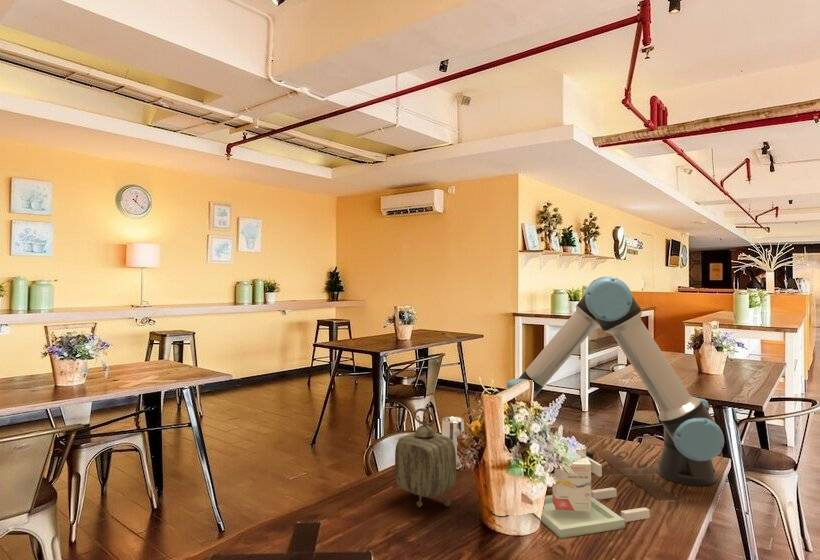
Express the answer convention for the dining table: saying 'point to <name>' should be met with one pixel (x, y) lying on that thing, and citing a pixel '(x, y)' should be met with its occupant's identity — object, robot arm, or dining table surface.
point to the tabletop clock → (425, 462)
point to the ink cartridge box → (574, 487)
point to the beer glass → (453, 432)
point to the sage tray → (580, 519)
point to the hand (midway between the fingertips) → (582, 473)
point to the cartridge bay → (626, 514)
